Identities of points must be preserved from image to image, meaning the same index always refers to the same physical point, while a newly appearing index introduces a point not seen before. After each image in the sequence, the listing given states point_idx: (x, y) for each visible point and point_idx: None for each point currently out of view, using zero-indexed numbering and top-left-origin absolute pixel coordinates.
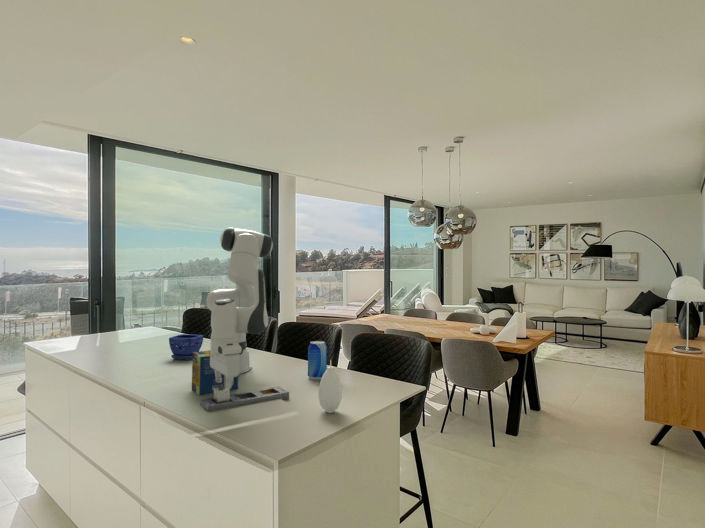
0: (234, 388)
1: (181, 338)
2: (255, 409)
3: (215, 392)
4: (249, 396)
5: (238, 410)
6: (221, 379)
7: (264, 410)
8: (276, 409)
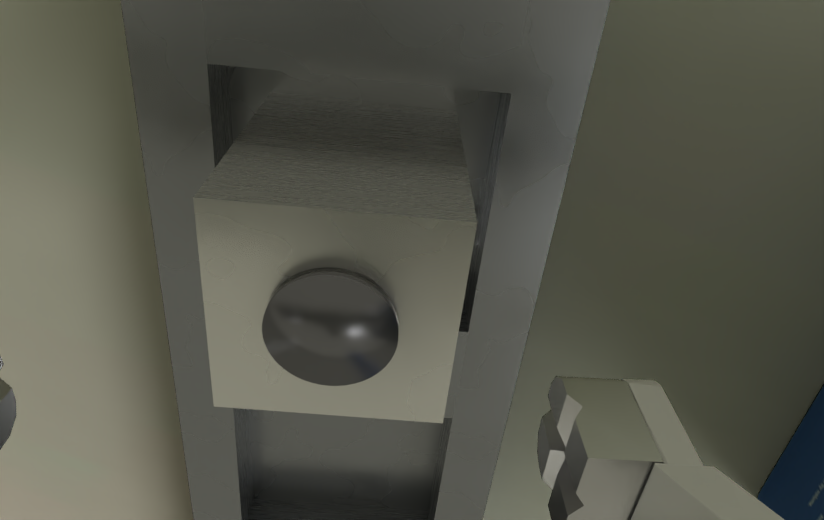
0: (789, 506)
1: None
2: (90, 401)
3: (358, 183)
4: (428, 501)
5: (138, 274)
6: (553, 494)
7: (22, 441)
8: (9, 510)
